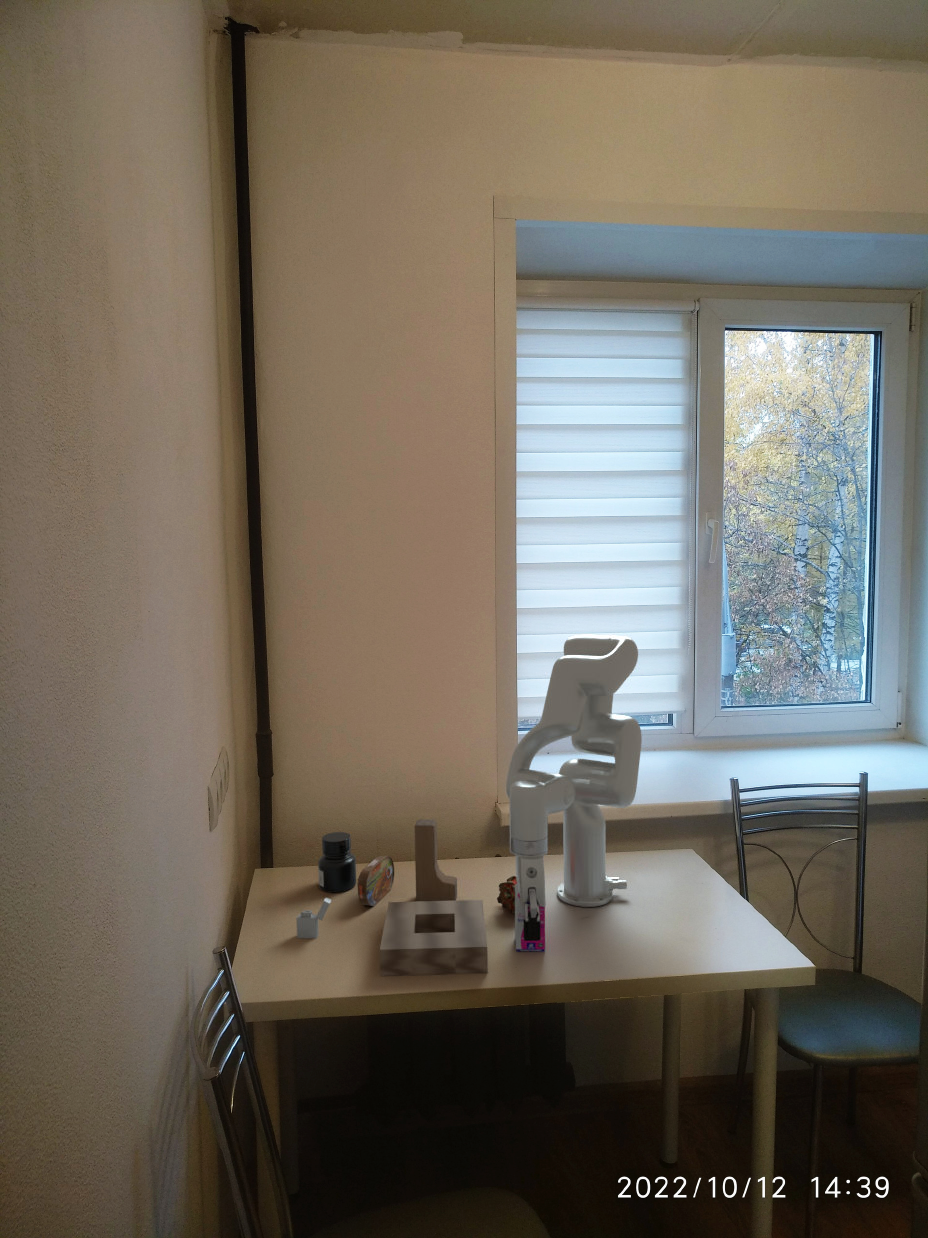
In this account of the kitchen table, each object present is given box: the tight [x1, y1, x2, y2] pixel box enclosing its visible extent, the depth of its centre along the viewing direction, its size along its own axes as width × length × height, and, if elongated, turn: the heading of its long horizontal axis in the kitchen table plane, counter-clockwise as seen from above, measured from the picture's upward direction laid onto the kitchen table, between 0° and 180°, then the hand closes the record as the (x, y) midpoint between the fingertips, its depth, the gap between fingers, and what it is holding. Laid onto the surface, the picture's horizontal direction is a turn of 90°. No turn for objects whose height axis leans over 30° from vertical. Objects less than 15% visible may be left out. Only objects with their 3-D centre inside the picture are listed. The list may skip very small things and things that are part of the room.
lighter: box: [295, 897, 332, 939], centre depth 154 cm, size 7×2×8 cm, turn 86°
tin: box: [356, 855, 395, 907], centre depth 172 cm, size 15×3×8 cm, turn 161°
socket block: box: [379, 899, 489, 977], centre depth 148 cm, size 20×20×5 cm
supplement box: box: [514, 884, 546, 953], centre depth 148 cm, size 6×6×12 cm
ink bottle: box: [317, 831, 357, 893], centre depth 178 cm, size 10×9×12 cm
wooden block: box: [414, 819, 458, 902], centre depth 170 cm, size 9×4×18 cm, turn 85°
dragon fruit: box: [496, 875, 517, 915], centre depth 164 cm, size 8×8×12 cm
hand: (529, 928), depth 148 cm, fingers open, 9 cm apart
